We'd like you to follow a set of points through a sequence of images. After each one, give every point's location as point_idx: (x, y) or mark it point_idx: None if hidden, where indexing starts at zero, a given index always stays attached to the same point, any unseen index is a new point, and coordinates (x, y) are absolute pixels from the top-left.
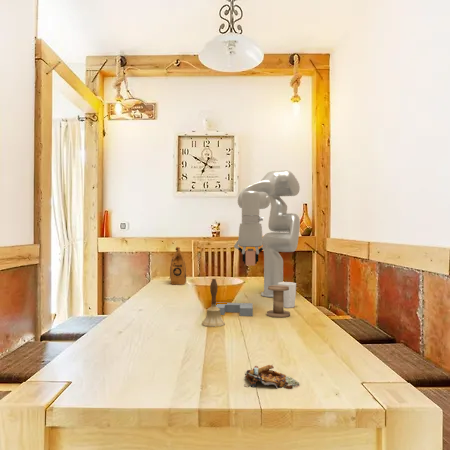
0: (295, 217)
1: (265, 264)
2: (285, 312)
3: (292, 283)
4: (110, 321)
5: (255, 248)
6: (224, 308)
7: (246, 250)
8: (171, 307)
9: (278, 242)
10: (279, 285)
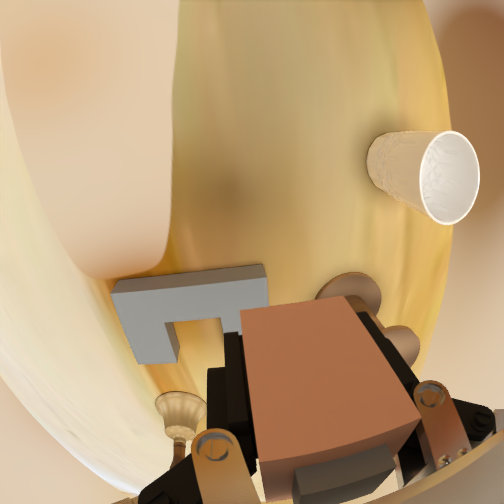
0: None
1: None
2: (369, 304)
3: (469, 150)
4: (15, 389)
5: (399, 488)
6: (173, 347)
7: (274, 466)
8: (4, 268)
9: None
10: (399, 337)
